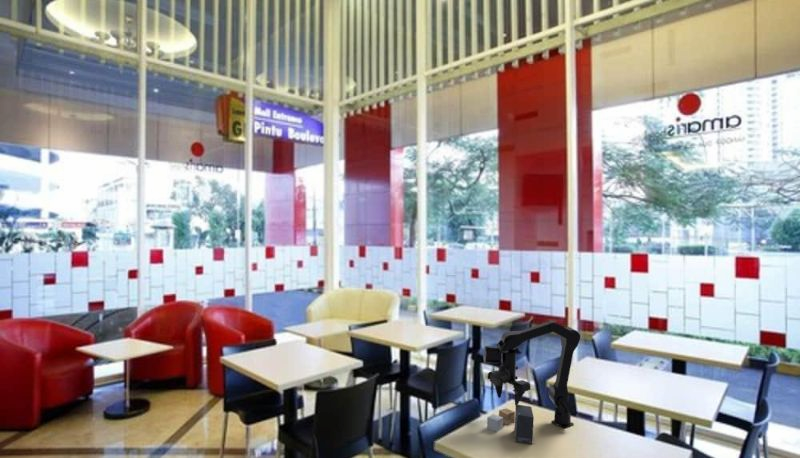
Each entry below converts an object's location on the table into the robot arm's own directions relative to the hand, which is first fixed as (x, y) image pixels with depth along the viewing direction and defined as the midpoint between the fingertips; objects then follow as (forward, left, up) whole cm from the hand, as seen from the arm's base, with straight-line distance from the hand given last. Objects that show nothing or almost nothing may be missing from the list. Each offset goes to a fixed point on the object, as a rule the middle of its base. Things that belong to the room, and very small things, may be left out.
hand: (507, 401), depth 183 cm
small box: (+5, +13, -9) cm, 16 cm away
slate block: (+9, +2, -9) cm, 13 cm away
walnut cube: (0, 0, -9) cm, 9 cm away
